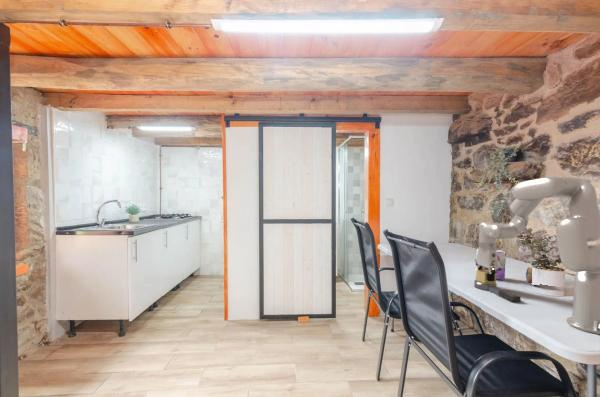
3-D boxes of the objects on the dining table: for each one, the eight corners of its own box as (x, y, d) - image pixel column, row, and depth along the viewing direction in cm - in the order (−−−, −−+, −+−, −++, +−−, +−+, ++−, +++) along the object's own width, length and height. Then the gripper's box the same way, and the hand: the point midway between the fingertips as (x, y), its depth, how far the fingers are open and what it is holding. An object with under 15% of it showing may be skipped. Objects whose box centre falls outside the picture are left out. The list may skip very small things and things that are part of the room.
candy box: (478, 278, 176) (479, 250, 175) (475, 275, 182) (476, 248, 181) (504, 280, 173) (506, 252, 172) (500, 277, 178) (502, 250, 178)
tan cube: (495, 284, 156) (496, 272, 155) (484, 284, 155) (484, 272, 155) (486, 280, 162) (487, 269, 162) (475, 280, 161) (476, 269, 161)
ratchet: (525, 302, 139) (526, 287, 139) (506, 302, 138) (506, 287, 138) (487, 284, 164) (487, 272, 164) (470, 284, 163) (470, 272, 163)
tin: (525, 279, 175) (525, 265, 174) (531, 280, 174) (532, 266, 173) (535, 287, 160) (536, 272, 160) (542, 288, 159) (543, 273, 159)
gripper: (506, 249, 150) (505, 283, 150) (482, 242, 167) (480, 273, 167) (492, 249, 149) (491, 284, 149) (469, 242, 166) (468, 274, 167)
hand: (485, 278), depth 158 cm, fingers open, 7 cm apart
